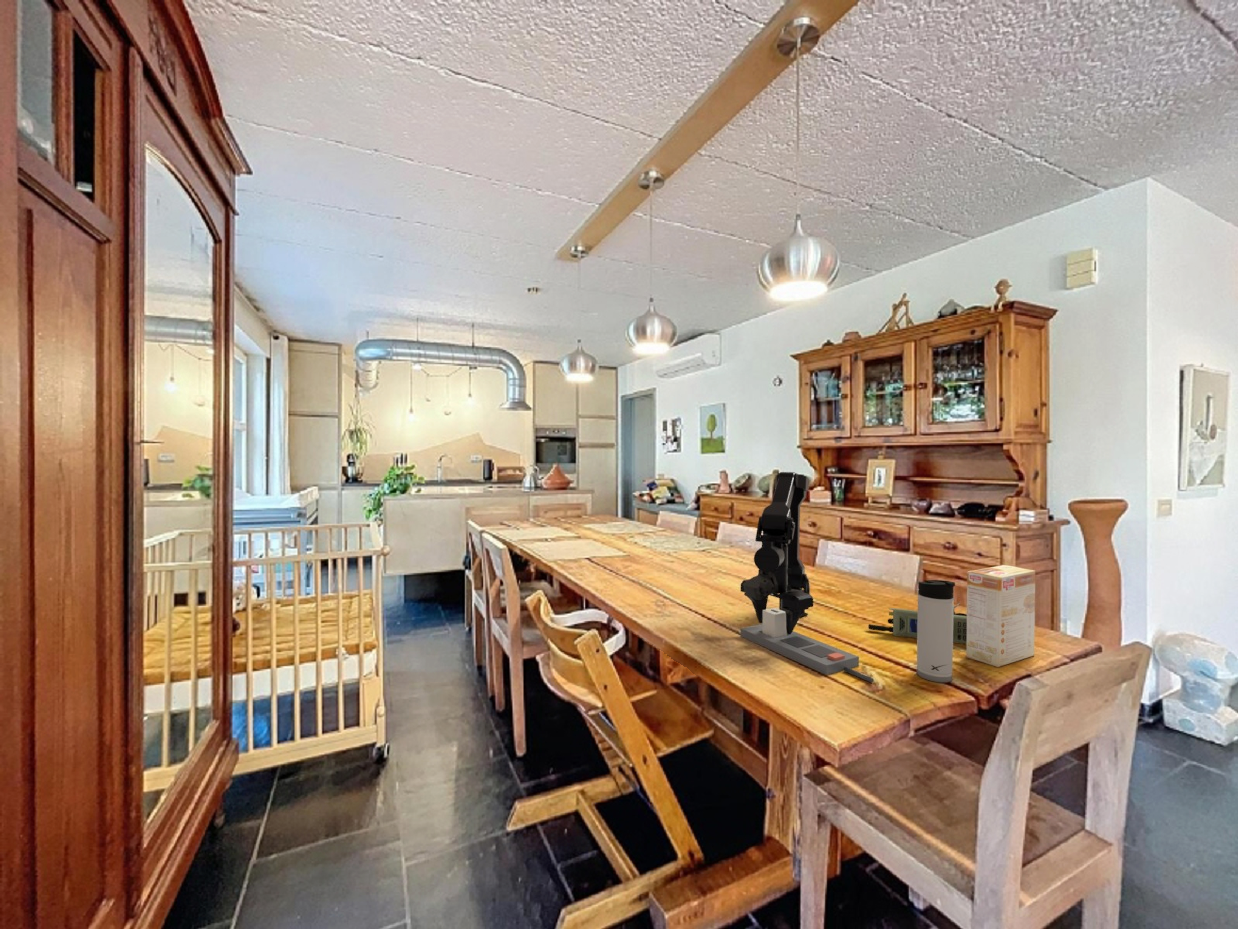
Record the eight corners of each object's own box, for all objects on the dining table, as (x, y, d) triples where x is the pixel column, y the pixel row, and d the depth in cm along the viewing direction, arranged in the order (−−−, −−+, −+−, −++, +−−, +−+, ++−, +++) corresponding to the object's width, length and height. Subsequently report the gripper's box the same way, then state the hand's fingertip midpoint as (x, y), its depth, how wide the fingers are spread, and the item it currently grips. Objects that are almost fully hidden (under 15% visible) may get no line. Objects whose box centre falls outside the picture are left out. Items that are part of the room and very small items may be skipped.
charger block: (762, 638, 128) (762, 609, 128) (774, 636, 130) (774, 607, 130) (774, 644, 125) (774, 614, 125) (786, 641, 127) (787, 611, 127)
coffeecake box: (1001, 645, 125) (1002, 564, 125) (1036, 656, 119) (1037, 570, 118) (963, 656, 118) (965, 570, 118) (998, 668, 112) (1000, 577, 112)
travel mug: (942, 686, 103) (943, 584, 103) (910, 673, 109) (911, 577, 108) (960, 680, 106) (962, 581, 105) (928, 668, 112) (930, 574, 111)
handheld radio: (985, 648, 124) (868, 633, 134) (982, 644, 127) (868, 630, 137) (986, 620, 124) (868, 607, 134) (982, 616, 127) (868, 604, 137)
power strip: (740, 636, 131) (740, 625, 131) (770, 630, 136) (770, 620, 136) (856, 688, 102) (856, 675, 102) (889, 678, 107) (889, 665, 107)
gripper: (724, 560, 131) (723, 622, 132) (779, 575, 115) (778, 646, 115) (757, 556, 137) (757, 616, 137) (815, 570, 120) (814, 638, 121)
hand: (774, 628), depth 127 cm, fingers open, 9 cm apart
